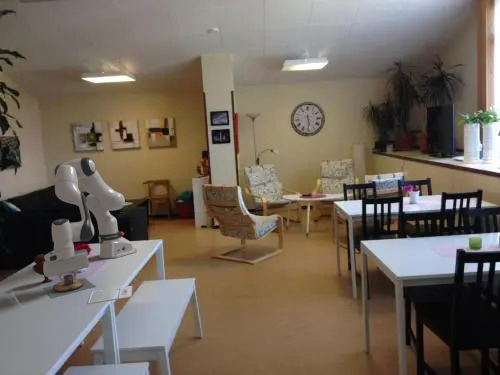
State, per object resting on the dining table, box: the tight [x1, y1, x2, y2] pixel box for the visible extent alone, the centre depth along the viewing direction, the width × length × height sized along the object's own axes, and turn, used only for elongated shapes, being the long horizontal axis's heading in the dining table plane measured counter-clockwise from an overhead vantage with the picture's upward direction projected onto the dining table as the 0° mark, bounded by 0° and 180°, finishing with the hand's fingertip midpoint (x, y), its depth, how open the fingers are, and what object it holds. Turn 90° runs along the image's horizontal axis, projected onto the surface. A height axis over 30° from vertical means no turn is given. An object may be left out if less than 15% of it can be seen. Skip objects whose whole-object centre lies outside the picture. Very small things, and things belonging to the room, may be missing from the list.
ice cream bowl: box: [32, 253, 53, 284], centre depth 222 cm, size 11×11×15 cm
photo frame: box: [87, 285, 133, 305], centre depth 196 cm, size 15×1×18 cm
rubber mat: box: [42, 277, 97, 299], centre depth 210 cm, size 20×20×1 cm
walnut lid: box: [52, 273, 85, 291], centre depth 210 cm, size 14×14×5 cm
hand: (68, 281), depth 210 cm, fingers closed on walnut lid, 4 cm apart
